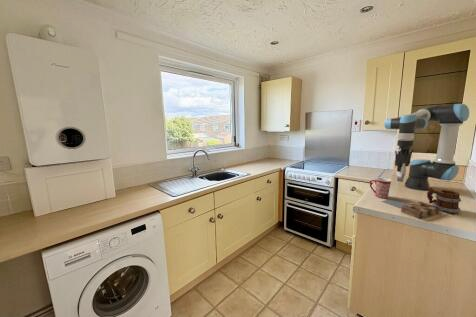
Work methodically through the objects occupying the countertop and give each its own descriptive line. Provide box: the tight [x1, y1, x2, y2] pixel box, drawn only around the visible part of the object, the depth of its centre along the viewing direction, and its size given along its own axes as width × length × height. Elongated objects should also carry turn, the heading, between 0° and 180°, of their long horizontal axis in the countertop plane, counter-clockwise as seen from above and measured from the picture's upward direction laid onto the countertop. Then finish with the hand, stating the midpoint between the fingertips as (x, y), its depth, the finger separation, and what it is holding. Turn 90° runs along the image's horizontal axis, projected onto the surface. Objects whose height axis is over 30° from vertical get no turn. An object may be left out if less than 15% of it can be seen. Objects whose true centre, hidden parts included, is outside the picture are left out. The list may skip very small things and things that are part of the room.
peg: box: [397, 163, 406, 183], centre depth 127 cm, size 3×3×12 cm
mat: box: [380, 197, 411, 209], centre depth 130 cm, size 14×12×1 cm
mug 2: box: [426, 186, 462, 215], centre depth 119 cm, size 12×14×15 cm
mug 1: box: [369, 177, 392, 200], centre depth 142 cm, size 13×9×14 cm
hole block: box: [400, 201, 440, 220], centre depth 116 cm, size 18×9×4 cm, turn 110°
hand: (400, 175), depth 127 cm, fingers closed on peg, 3 cm apart
